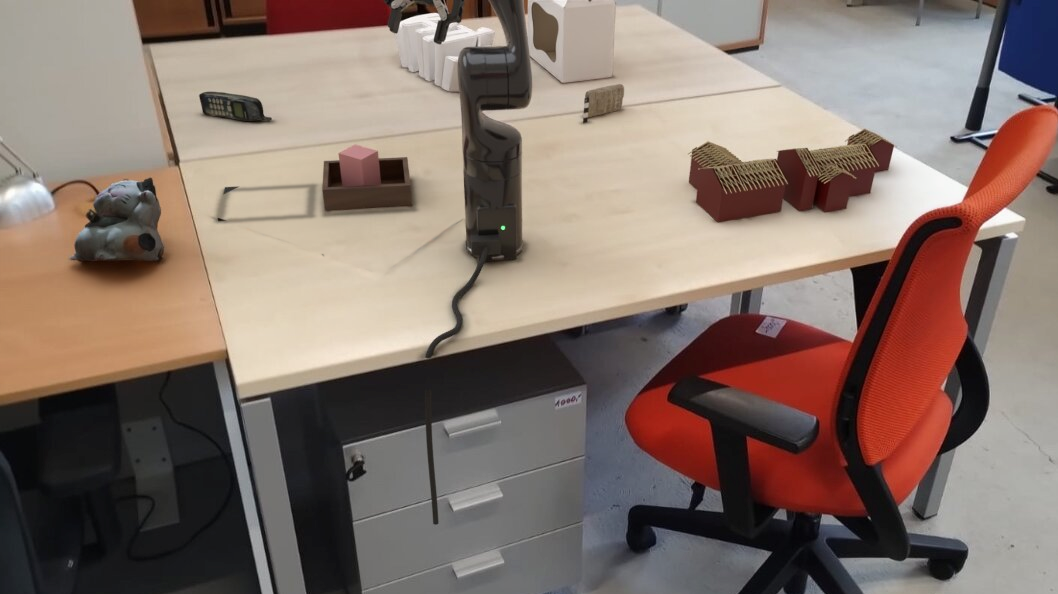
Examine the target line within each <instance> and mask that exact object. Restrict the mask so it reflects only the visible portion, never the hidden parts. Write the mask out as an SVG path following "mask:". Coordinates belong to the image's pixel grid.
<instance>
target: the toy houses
mask: <svg viewBox="0 0 1058 594" xmlns="http://www.w3.org/2000/svg"><path fill="white" fill-rule="evenodd" d="M844 142H845V143H846V144H845V145H839V146H832V147H825V148H818V149H810V150H809V148H808V147H800V148H787V149H780V150H776V153H777V157H776V158H764V159H757V160H756V159H755V160H748V161H742V159H739V157H737V156H736V155H734V153H733V152H732V151H730V150H729V149H727V148H726V147H724V146H721V145H720V144H719V145H718V144H716V143H714V142H711V141H708V140H707V141H706V142H704V143H703V144H701V145H699V146H698V147H697V146H695V147H694V148H692V150H691V151H690V152H688V153H687V155H689V157H690V165H689V166H690V167H689V175H688V183H689V184H690V185H691V186H692V187H693V188H694V189H695V190H696V198H695V203H696V204H697V205H698V206H700V208H702V210H703V211H705V212H706V214H708V215H709V216H710V217H711V218H712V219H713V220H714V221H715V222H717V223H722V222H723V223H724V222H728V221H734V220H740V219H746V218H753V217H757V216H763V215H768V214H769V215H770V214H775V213H781V212H782V207H783V203H784V201H785V202H787V203H788V204H789V205H790V206H792V207H793V208H794V209H795V210H796V211H798V212H803V211H808V210H812V209H813V205H814V206H815V207H817V208H818V209H819V210H821V211H822V212H823V213H829V212H835V211H841V210H845V209H847V207H848V203H849V199H850V197H855V196H860V195H866V194H871V192H872V188H873V183H874V178H875V174H876V173H881V172H886V171H889V169H890V164H891V160H892V157H893V152H894V148H897V147H898V145H895V144H894V143H892V142H891V141H889V140H888V139H886V138H884V137H883V136H881V135H879V134H877V133H875V132H873V131H871V130H868V129H866V128H863V129H862V130H860V131H858V132H856V133H853V134H852V135H849V136H848V138H847V139H846V140H844Z"/></svg>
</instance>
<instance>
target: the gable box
mask: <svg viewBox="0 0 1058 594" xmlns="http://www.w3.org/2000/svg"><path fill="white" fill-rule="evenodd" d="M616 12H617V2H616V1H614V0H527V37H528V45H529V53H530V58H532V59H533V60H534V61H535V62H537V63H538V64H539V65H540V66H541V67H543V69H545V70H546V71H547V72H549V73H550V75H552V76H553V77H554V78H556V79H557V80H558V81H560V82H561V83H562V84H568V83H575V82H583V81H590V80H591V81H593V80H601V79H607V78H608V79H609V78H612V77H613V73H614V72H613V71H614V70H613V69H614V52H615V32H616V31H615V30H616Z"/></svg>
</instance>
